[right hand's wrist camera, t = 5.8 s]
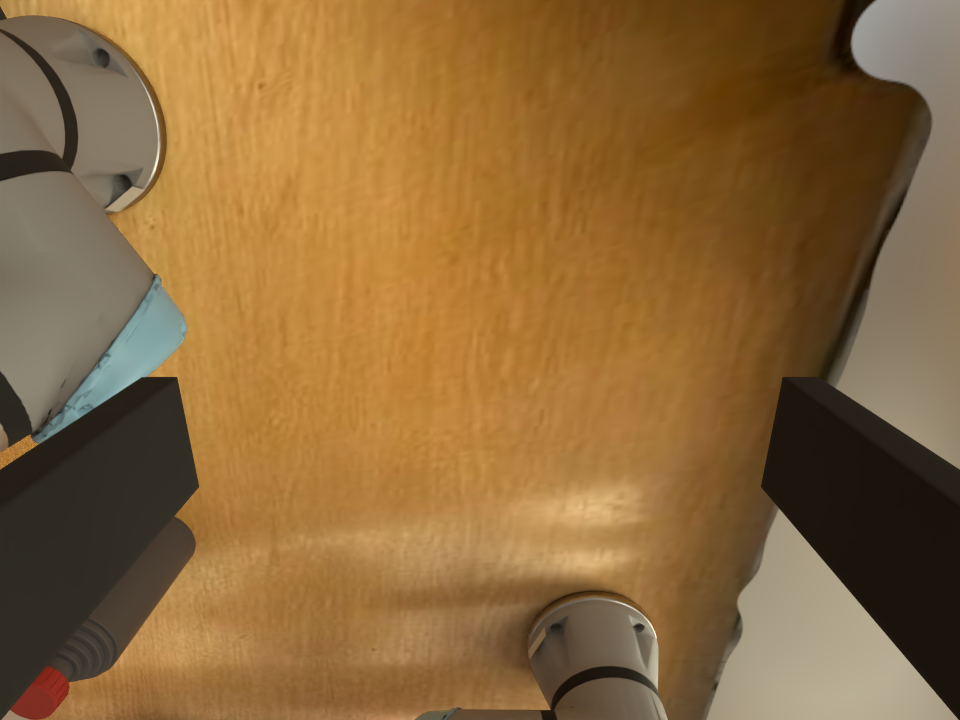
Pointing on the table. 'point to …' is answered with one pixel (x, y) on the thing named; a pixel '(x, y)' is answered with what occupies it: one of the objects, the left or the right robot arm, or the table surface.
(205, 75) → the table surface
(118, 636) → the bottle
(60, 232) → the left robot arm
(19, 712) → the cap
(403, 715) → the table surface
